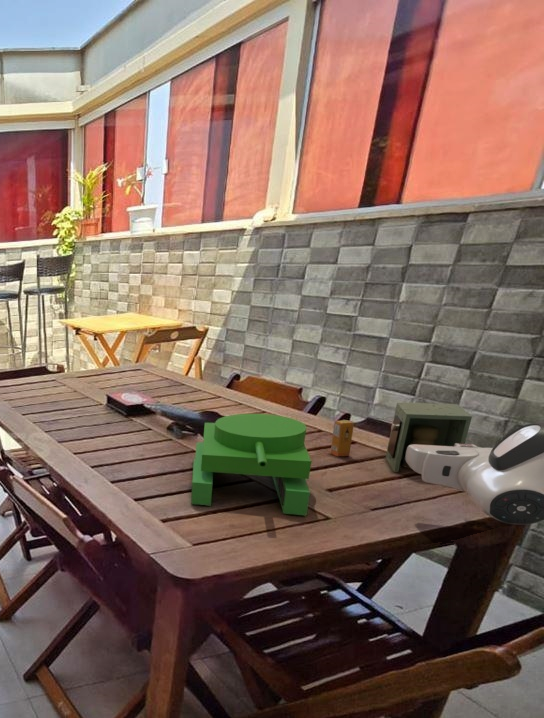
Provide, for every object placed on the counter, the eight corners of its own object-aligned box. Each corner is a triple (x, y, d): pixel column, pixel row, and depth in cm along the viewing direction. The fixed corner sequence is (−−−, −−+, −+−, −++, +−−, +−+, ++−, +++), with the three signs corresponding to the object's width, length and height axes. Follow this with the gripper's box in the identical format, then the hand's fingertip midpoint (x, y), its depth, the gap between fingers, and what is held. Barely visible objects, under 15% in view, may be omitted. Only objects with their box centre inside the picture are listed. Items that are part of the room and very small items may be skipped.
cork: (432, 463, 129) (441, 423, 125) (434, 471, 125) (444, 431, 121) (401, 460, 133) (409, 421, 129) (402, 468, 128) (411, 428, 125)
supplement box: (341, 452, 142) (347, 419, 138) (349, 456, 138) (355, 422, 135) (329, 452, 142) (334, 420, 139) (336, 457, 139) (342, 423, 136)
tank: (187, 514, 118) (191, 452, 113) (193, 461, 147) (196, 409, 141) (310, 528, 107) (322, 460, 101) (291, 468, 135) (299, 412, 130)
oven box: (443, 461, 129) (457, 403, 124) (456, 477, 121) (472, 416, 116) (380, 457, 136) (391, 402, 131) (388, 471, 127) (400, 413, 122)
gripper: (574, 461, 87) (539, 436, 98) (419, 452, 97) (403, 430, 108) (563, 493, 89) (530, 465, 100) (412, 481, 99) (397, 456, 110)
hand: (463, 447), depth 104 cm, fingers closed
